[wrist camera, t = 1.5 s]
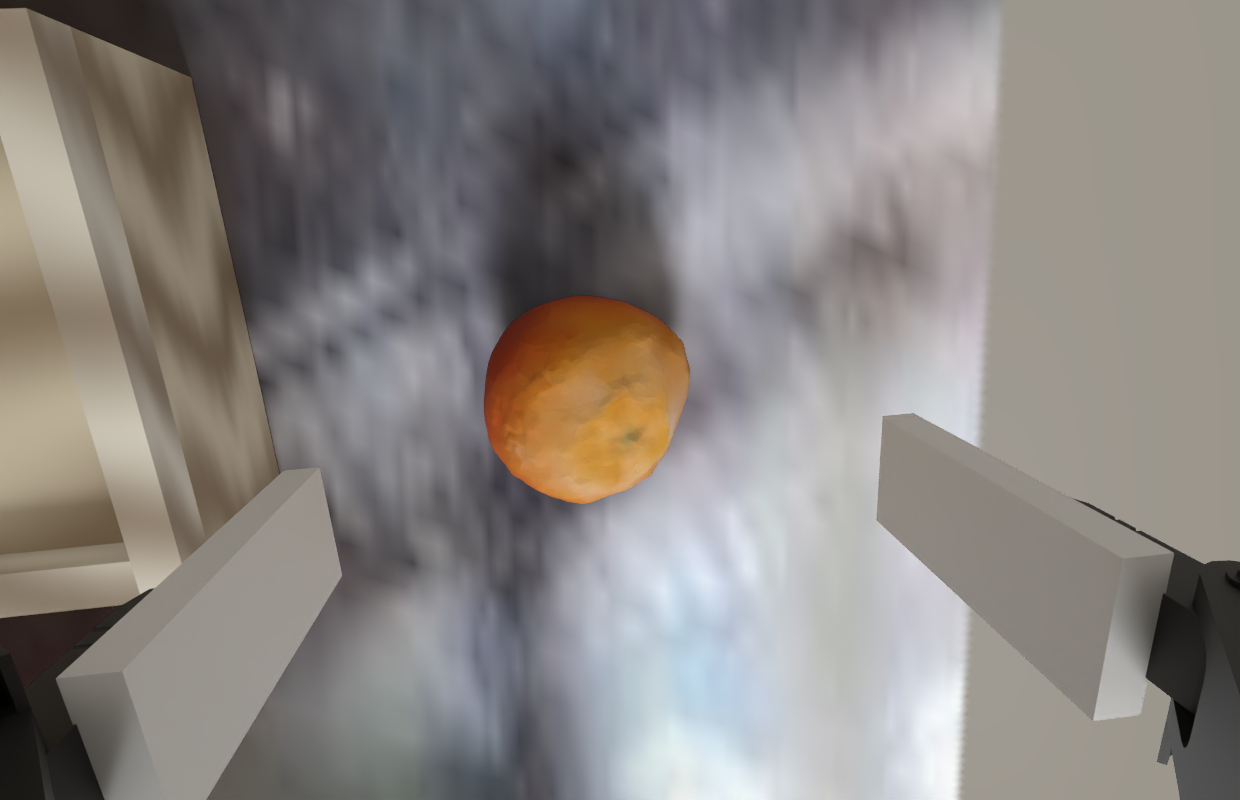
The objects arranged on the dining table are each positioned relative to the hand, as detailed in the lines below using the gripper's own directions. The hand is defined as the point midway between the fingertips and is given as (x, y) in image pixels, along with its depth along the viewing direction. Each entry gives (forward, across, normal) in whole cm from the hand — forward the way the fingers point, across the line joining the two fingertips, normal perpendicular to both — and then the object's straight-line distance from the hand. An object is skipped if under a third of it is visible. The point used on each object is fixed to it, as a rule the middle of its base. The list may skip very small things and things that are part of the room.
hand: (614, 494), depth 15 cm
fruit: (+14, 0, 0) cm, 14 cm away
